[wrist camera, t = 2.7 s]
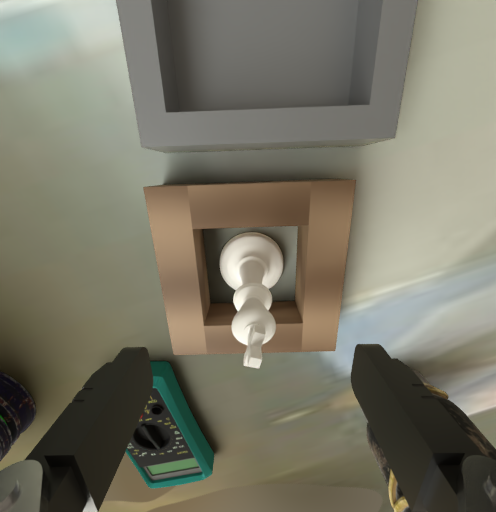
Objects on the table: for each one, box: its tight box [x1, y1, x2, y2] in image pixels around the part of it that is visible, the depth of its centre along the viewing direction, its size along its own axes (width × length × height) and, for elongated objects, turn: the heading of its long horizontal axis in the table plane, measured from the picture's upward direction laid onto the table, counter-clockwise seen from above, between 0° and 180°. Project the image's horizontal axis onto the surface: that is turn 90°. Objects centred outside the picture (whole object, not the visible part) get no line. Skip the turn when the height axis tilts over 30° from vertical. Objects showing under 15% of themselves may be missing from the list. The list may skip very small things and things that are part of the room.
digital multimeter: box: [125, 361, 214, 488], centre depth 23 cm, size 7×15×3 cm, turn 15°
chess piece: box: [220, 232, 283, 368], centre depth 13 cm, size 5×5×10 cm
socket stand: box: [143, 179, 356, 355], centre depth 16 cm, size 12×12×3 cm
